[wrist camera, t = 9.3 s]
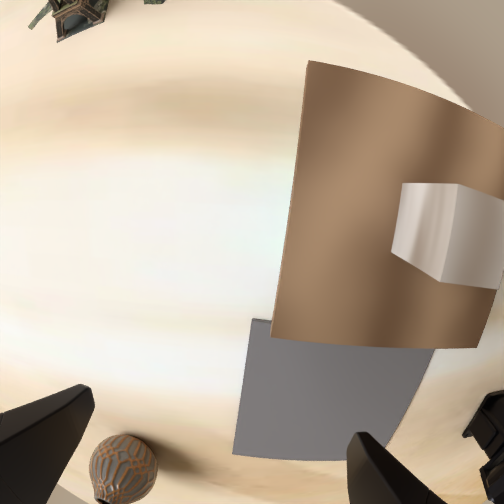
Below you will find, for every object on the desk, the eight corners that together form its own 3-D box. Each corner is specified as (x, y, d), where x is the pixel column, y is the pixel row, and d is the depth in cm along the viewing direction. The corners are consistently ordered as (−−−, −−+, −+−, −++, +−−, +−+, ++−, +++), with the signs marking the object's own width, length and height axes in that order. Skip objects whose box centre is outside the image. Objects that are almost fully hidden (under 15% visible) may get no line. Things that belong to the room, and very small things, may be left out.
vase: (167, 441, 24) (141, 508, 15) (161, 471, 25) (140, 527, 17) (105, 415, 24) (68, 472, 15) (107, 449, 25) (78, 499, 17)
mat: (437, 334, 19) (439, 336, 19) (377, 455, 23) (377, 458, 22) (252, 318, 20) (251, 320, 20) (232, 451, 23) (232, 454, 23)
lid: (507, 137, 11) (569, 130, 6) (468, 340, 14) (515, 385, 9) (306, 68, 12) (323, 7, 6) (270, 328, 15) (268, 397, 9)
